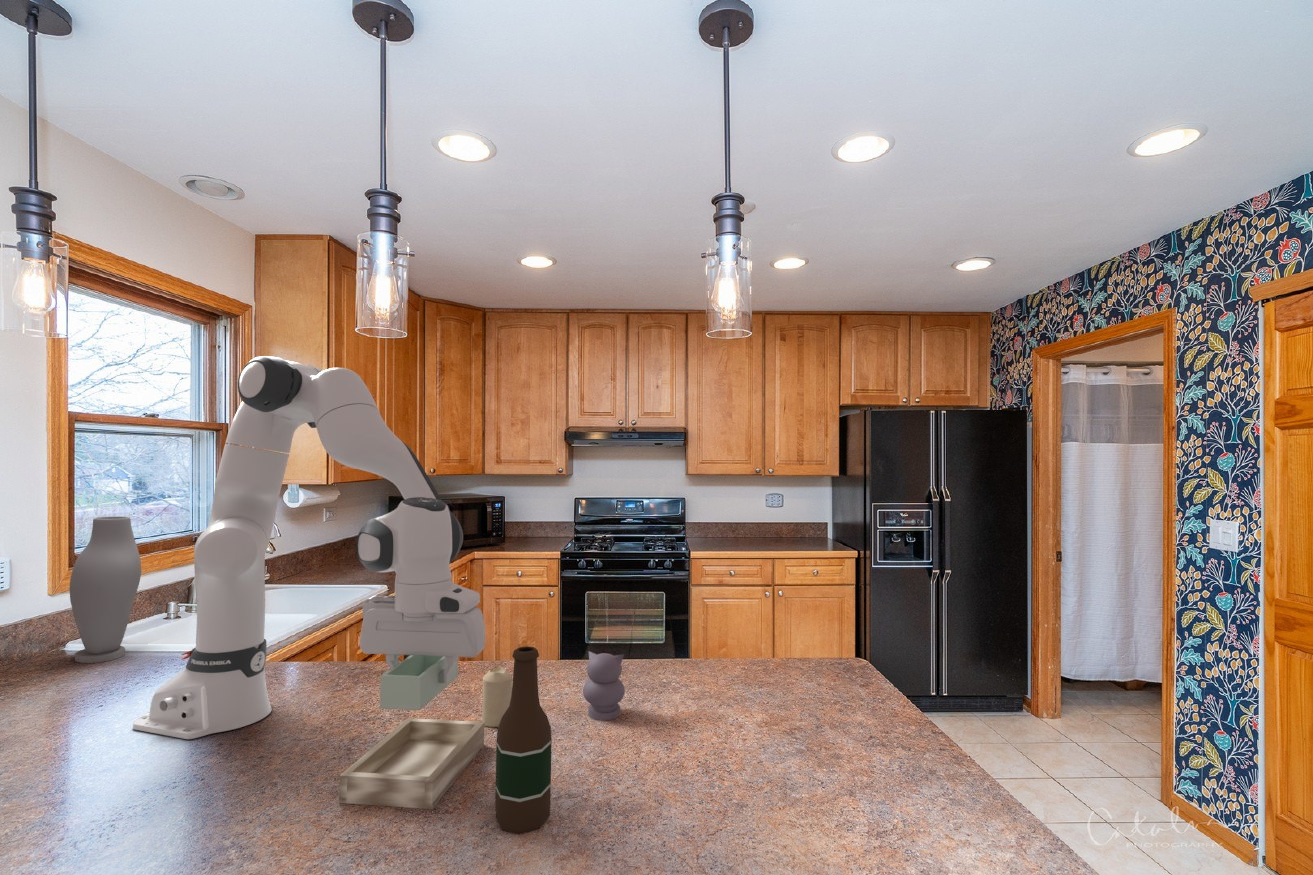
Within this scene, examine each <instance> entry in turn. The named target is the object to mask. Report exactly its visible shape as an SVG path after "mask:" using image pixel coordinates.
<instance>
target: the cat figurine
mask: <svg viewBox="0 0 1313 875" xmlns="http://www.w3.org/2000/svg"><path fill="white" fill-rule="evenodd" d="M624 656H625V653H622V654H616V655H613V654H611V653H606V652H605V653H603V652H602V653H598V654H597V653H595V652H592V651H590V650H589V651H588V662H587V665H586V673H587V676H588V679H587V680H586V682H585V683H584V685H583V686H582V694H583V696H584V699H585V701H586V702H587V703H588V704H589V705H588V707H587V708H588V711H587V712H588V714H587V715H588V717H589V718H590V719H592V720H596V721H602V722H603V721H610V720H615V719H616V718H618V717H619V716H620V715H621V706H620V704H619V703H620V702H621V701H622V700H623V699H624V696H625V693H626V690H625V689H626V688H625V685H624V683H623V682H622V680H621V679H620V678H621V677H620V676H622V670H623V666H622V663H623V659H624Z"/></svg>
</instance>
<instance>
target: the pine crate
mask: <svg viewBox="0 0 1313 875" xmlns="http://www.w3.org/2000/svg"><path fill="white" fill-rule="evenodd" d="M484 745H485V725H484V722H482V721H472V720H471V721H470V720H455V719H454V720H451V719H449V720H448V719H435V718H434V719H432V718H415V717H414V718H412V717H406V719H404V720H403V721H402V722H401V723H400V724H399V725H398V726H396V727H395V728H394V729H393V730H391V731H390V732H389V733H388V734H386V735H385V737H382V739H381V740H380V741H379V742H378V743H376V744H375V745H374V746H372V748H370V749H369V750H368V751H367V752H366V753H365V754H363V755H362V756H361V757H360V758H359V759H357V760H356V761H355V762H354V763H352V765H350V766H349V767H348V768H346V770H344V771H343V772H342V773H340V775H339V781H338V782H339V783H338V785H339V786H338V787H339V789H338V804H350V805H352V804H353V805H363V806H364V805H366V806H377V807H378V806H379V807H393V808H407V809H408V808H410V809H422V810H423V809H425V810H433V809H434V808H435V806H436V805H437V804H438V803H439V801H440V800H441V799H442V798H443V797H444V795H445V794H446V793H447V792H448V791H449V789H450V788H451V786H453V784H455V782H456V780H457V779H458V777H459V776H460V775H461V774H462V773H463V771H464V770H465V769H466V768H467V766H469V764H470V763H471V762H472V760H473V759H474V758H475V757H476V756H477V754H478V753H479V752H480V750H481V749H482V748H483V747H484Z"/></svg>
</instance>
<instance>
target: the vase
mask: <svg viewBox="0 0 1313 875" xmlns="http://www.w3.org/2000/svg"><path fill="white" fill-rule="evenodd" d="M141 577H142V561H141V556H140V552H139V549H138V545H137V542H136V539H135V536H134V532H133V528H132V521H131V517H130V516H126V515H125V516H122V515H121V516H120V515H118V516H117V515H116V516H115V515H113V516H98V517H94V518H93V519H92V528H91V536H90V539H89V542H88V544H87V545H85V547H84V549H83V550H82V551H81V552H80V554H79V555H78V557H77V558H76V561H75V563H74V565H73V567H72V570H71V573H70V580H69V588H68V589H69V600H70V605H71V609H72V613H73V617H74V621H75V624H76V628H77V630H78V634H79V637H80V640H81V643H82V645H83V647H84V649H80V650H77V651H76V652H75V653H74V661H75V662H77V663H81V664H90V663H91V664H93V663H94V664H95V663H102V662H103V663H104V662H108V661H113V660H117V659H120V658H122V657H124V656H125V653H126V647H125V646H123V645H122V642H123V639H124V637H125V634H126V631H127V628H128V623H129V620H130V617H131V613H132V609H133V605H134V602H135V599H136V595H137V593H138V589H139V587H140V586H139V585H140V581H141Z"/></svg>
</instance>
